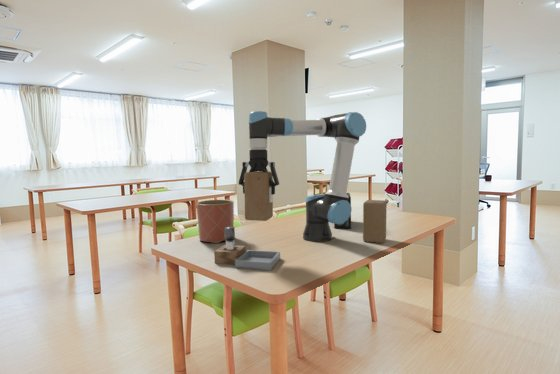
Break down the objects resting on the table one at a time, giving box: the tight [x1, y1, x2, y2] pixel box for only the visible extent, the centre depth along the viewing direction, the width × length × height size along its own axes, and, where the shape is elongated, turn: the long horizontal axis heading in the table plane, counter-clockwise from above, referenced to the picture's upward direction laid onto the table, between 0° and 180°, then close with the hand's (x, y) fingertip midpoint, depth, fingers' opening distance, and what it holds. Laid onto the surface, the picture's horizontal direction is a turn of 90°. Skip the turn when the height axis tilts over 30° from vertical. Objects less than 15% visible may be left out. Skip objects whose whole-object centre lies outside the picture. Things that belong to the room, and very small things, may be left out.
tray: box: [234, 249, 281, 271], centre depth 136 cm, size 15×15×3 cm
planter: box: [196, 199, 235, 244], centre depth 175 cm, size 19×19×20 cm
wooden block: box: [244, 171, 274, 222], centre depth 141 cm, size 10×10×20 cm
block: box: [362, 199, 387, 244], centre depth 167 cm, size 10×10×20 cm
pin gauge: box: [224, 226, 236, 251], centre depth 141 cm, size 4×4×14 cm
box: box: [333, 192, 352, 229], centre depth 205 cm, size 23×10×19 cm, turn 170°
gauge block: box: [213, 244, 247, 265], centre depth 141 cm, size 10×10×5 cm
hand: (258, 201), depth 141 cm, fingers closed on wooden block, 10 cm apart
